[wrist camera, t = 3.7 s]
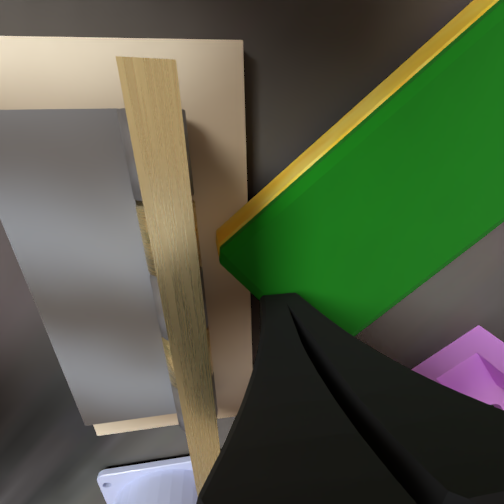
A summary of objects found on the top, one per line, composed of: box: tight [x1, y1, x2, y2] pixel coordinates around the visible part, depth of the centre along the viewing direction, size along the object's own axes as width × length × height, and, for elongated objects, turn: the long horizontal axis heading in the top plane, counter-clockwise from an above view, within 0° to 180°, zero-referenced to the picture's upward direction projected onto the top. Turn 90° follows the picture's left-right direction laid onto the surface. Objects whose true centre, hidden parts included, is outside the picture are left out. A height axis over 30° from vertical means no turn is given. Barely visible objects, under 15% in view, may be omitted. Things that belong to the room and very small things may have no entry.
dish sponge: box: [216, 0, 504, 336], centre depth 11 cm, size 7×14×2 cm, turn 130°
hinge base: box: [0, 36, 253, 436], centre depth 11 cm, size 18×9×3 cm, turn 1°
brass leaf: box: [115, 56, 220, 496], centre depth 9 cm, size 14×7×2 cm
